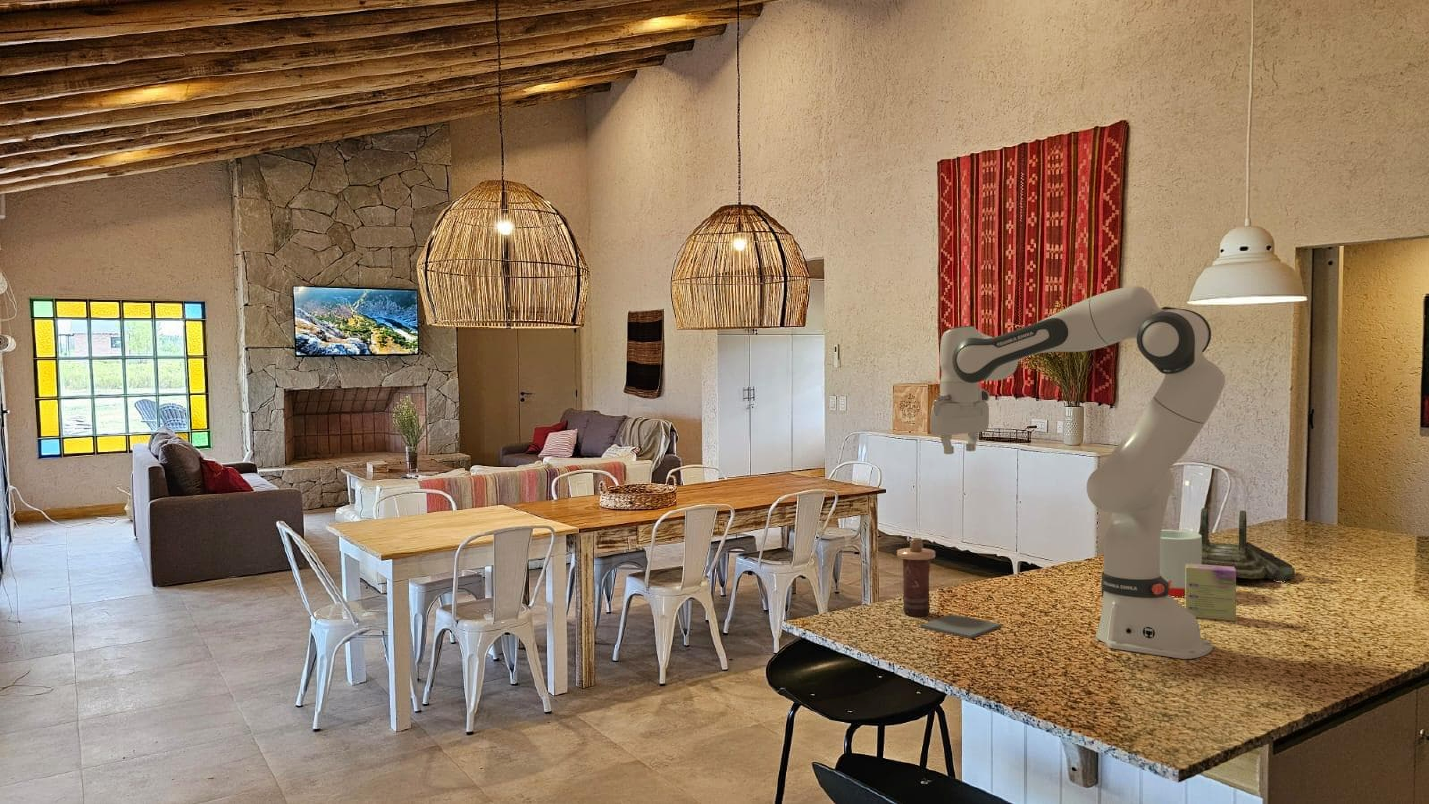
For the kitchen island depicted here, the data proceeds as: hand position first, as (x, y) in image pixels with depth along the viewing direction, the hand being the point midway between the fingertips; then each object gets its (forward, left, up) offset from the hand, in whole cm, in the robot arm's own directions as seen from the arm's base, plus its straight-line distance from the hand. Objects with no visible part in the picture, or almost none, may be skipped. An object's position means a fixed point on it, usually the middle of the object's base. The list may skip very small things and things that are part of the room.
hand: (960, 452), depth 226 cm
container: (-26, -58, -39) cm, 75 cm away
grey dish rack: (-28, -90, -40) cm, 102 cm away
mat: (-6, +10, -39) cm, 41 cm away
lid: (+8, +7, -25) cm, 27 cm away
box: (-43, -37, -39) cm, 69 cm away
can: (+8, +7, -39) cm, 41 cm away
